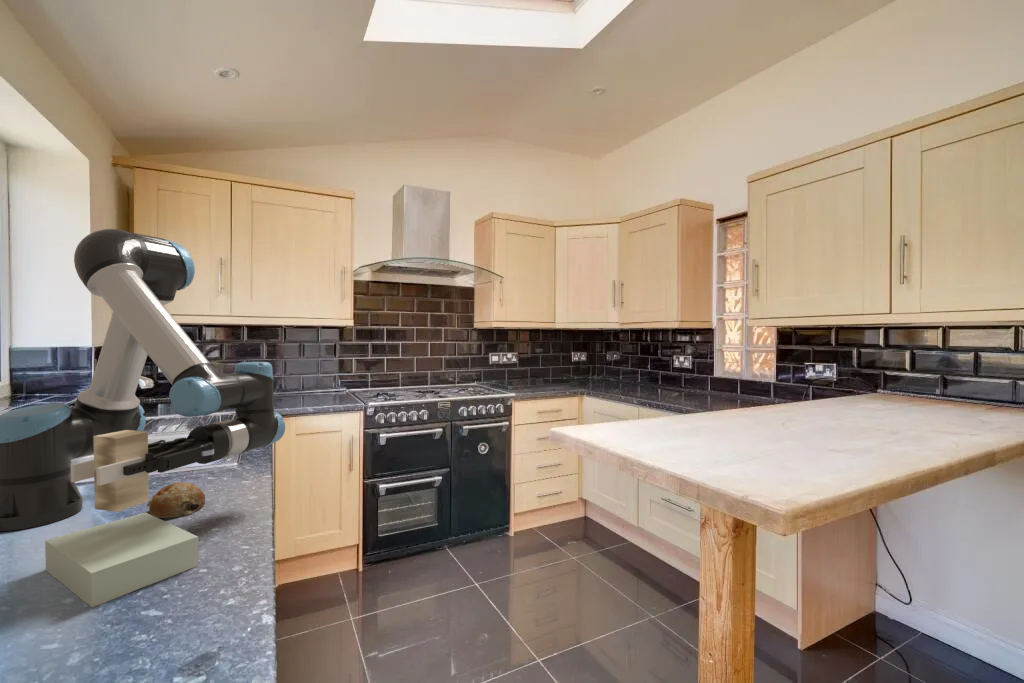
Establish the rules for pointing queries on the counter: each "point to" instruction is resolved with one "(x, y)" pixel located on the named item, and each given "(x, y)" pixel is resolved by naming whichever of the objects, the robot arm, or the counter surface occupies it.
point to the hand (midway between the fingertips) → (85, 475)
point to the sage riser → (120, 557)
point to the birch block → (114, 451)
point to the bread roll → (176, 501)
